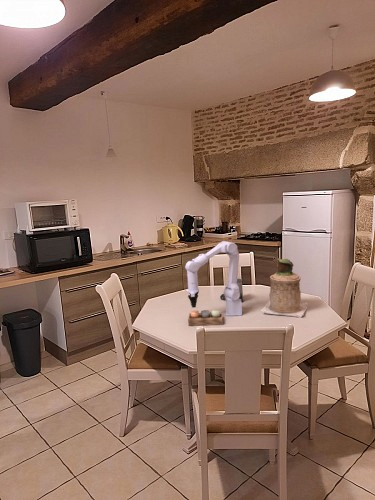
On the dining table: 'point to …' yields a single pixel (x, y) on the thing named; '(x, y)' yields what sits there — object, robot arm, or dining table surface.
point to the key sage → (215, 313)
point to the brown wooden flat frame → (205, 320)
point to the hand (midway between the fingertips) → (194, 305)
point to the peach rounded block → (195, 314)
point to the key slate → (205, 314)
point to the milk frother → (239, 283)
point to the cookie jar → (285, 292)
